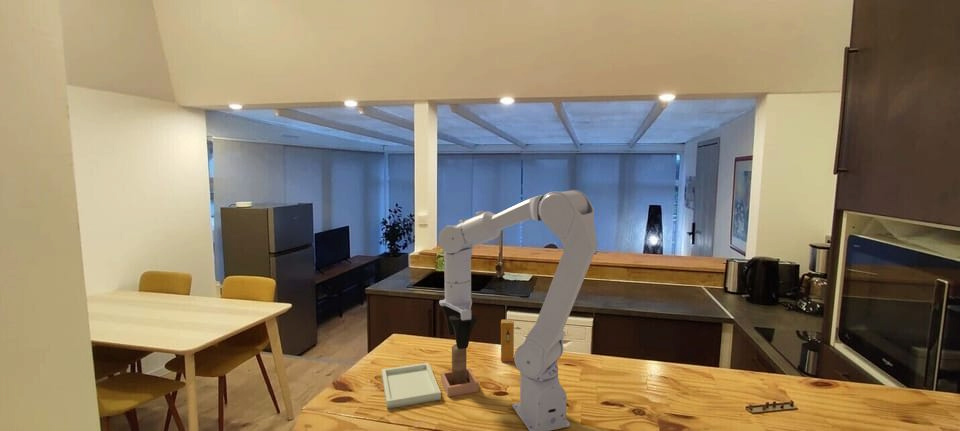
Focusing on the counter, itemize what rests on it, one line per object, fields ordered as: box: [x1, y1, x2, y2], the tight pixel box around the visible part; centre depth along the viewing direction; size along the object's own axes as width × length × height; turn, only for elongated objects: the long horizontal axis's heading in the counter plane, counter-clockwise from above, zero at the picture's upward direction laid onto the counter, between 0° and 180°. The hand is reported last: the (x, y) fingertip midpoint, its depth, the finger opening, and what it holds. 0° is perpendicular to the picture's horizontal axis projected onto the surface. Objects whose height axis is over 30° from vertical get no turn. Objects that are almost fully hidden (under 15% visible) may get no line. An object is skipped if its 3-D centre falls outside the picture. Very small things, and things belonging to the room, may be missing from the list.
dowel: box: [451, 344, 468, 386], centre depth 89 cm, size 3×3×9 cm
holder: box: [440, 368, 480, 398], centre depth 89 cm, size 7×7×2 cm
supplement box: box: [500, 319, 515, 363], centre depth 102 cm, size 3×3×10 cm
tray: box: [381, 362, 442, 410], centre depth 89 cm, size 14×11×2 cm
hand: (458, 340), depth 88 cm, fingers open, 7 cm apart
